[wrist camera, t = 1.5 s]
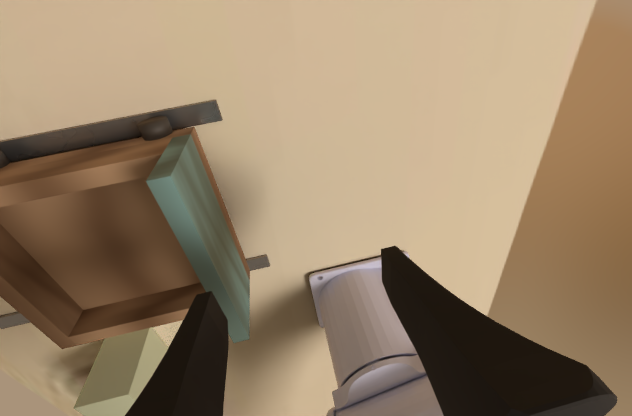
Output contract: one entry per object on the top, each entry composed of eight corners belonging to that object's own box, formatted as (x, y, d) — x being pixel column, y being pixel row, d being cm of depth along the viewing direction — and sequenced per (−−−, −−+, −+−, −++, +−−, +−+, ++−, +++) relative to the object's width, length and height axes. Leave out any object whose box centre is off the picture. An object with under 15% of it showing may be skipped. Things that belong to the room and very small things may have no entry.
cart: (190, 110, 17) (162, 158, 12) (252, 271, 25) (252, 346, 19) (-47, 156, 16) (-200, 231, 11) (93, 308, 24) (46, 397, 19)
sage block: (150, 324, 27) (128, 394, 22) (169, 348, 29) (152, 416, 25) (105, 335, 27) (73, 408, 22) (128, 358, 29) (103, 429, 24)
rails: (216, 99, 18) (215, 100, 17) (269, 264, 26) (270, 266, 25) (-189, 177, 16) (-193, 179, 16) (3, 326, 24) (1, 329, 24)
